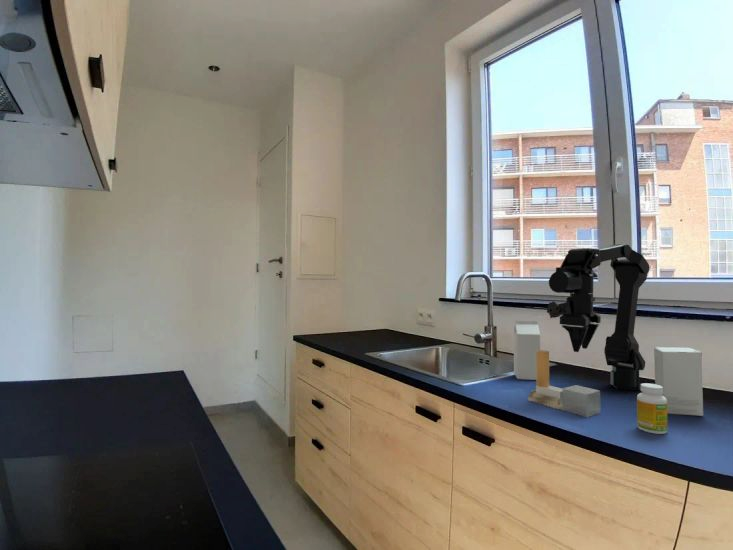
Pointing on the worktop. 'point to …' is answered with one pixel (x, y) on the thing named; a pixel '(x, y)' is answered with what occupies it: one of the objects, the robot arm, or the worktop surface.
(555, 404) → the cradle
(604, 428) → the worktop surface
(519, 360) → the milk carton
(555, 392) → the orange upright rod
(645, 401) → the supplement bottle
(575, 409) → the socket
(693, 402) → the skincare box
